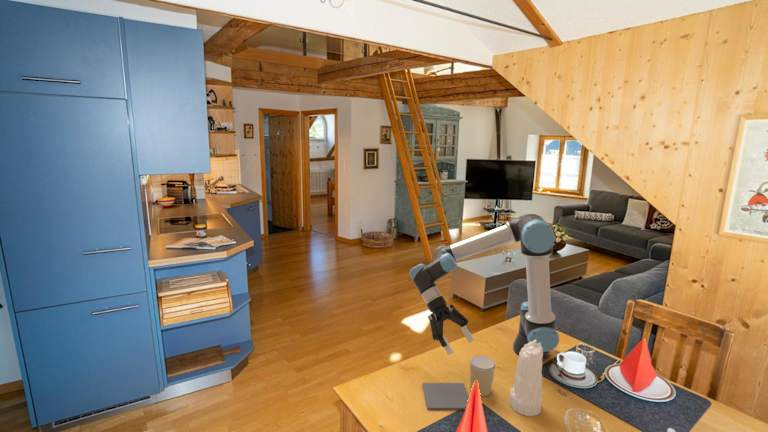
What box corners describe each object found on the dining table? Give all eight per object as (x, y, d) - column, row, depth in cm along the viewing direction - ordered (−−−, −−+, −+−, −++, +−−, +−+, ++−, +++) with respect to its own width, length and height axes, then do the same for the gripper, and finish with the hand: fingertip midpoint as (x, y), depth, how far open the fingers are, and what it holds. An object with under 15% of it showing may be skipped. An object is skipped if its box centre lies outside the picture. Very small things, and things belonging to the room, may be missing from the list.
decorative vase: (525, 420, 136) (532, 355, 131) (503, 401, 146) (509, 339, 140) (547, 410, 141) (555, 347, 136) (524, 392, 151) (531, 333, 145)
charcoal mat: (463, 384, 155) (463, 382, 154) (471, 409, 141) (472, 407, 141) (422, 384, 154) (422, 382, 154) (427, 409, 140) (427, 407, 140)
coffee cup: (490, 383, 156) (493, 355, 153) (494, 398, 147) (497, 370, 144) (466, 381, 157) (468, 354, 154) (469, 396, 148) (471, 368, 145)
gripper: (447, 295, 173) (473, 339, 166) (408, 312, 157) (435, 362, 149) (457, 287, 169) (485, 333, 161) (418, 304, 152) (447, 356, 144)
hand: (461, 347), depth 155 cm, fingers open, 13 cm apart
